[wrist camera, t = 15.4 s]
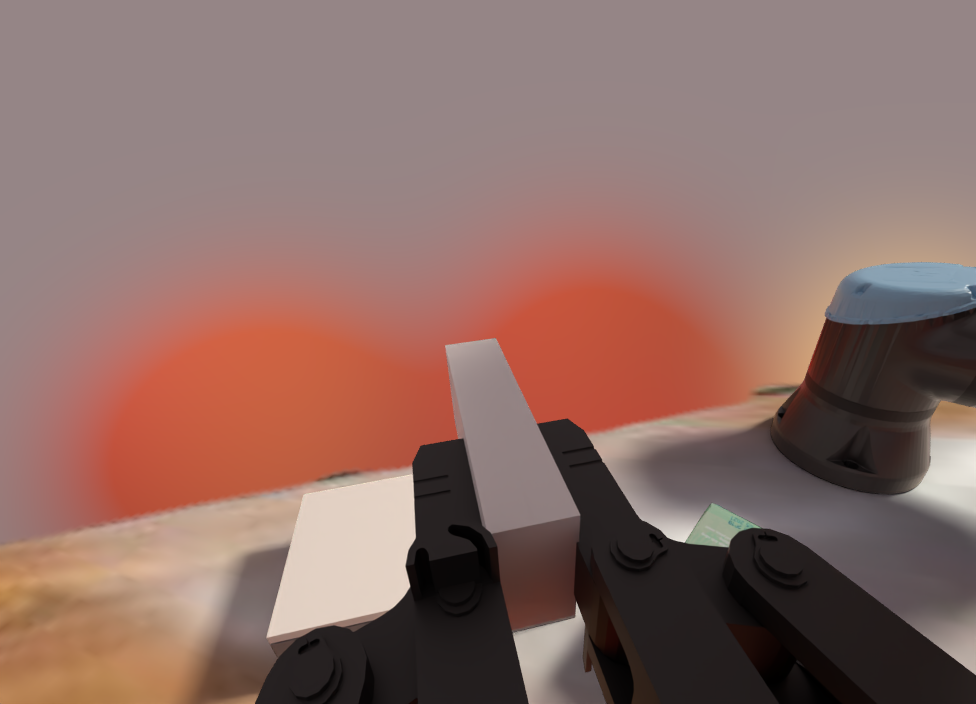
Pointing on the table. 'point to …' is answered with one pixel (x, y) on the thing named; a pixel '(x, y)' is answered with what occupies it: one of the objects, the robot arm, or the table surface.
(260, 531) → the table surface
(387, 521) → the cover
